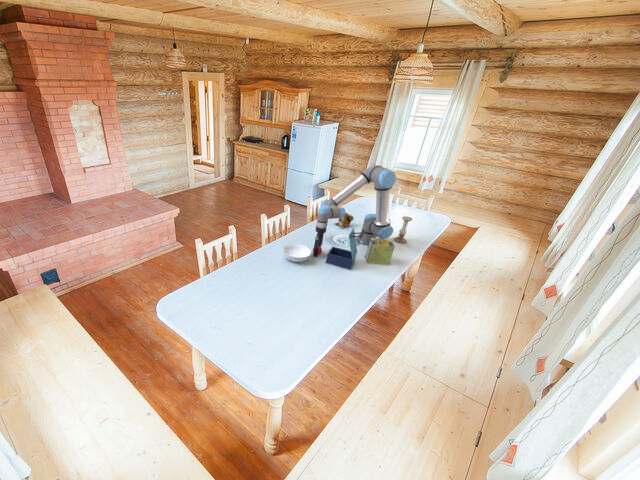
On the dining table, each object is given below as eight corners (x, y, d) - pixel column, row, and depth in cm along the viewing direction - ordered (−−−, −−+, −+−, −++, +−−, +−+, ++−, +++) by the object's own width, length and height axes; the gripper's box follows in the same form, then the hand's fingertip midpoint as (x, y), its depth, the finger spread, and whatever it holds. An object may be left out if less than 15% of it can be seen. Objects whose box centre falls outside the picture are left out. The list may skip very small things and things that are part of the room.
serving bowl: (309, 267, 224) (311, 258, 221) (280, 263, 228) (281, 255, 224) (310, 253, 242) (311, 245, 238) (282, 250, 245) (283, 242, 241)
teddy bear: (334, 224, 289) (337, 211, 282) (346, 222, 294) (349, 208, 287) (341, 228, 281) (344, 215, 274) (353, 226, 286) (357, 212, 280)
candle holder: (403, 238, 268) (410, 216, 257) (407, 243, 260) (414, 220, 250) (392, 237, 268) (399, 215, 258) (396, 242, 261) (403, 219, 250)
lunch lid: (348, 235, 212) (361, 234, 208) (352, 228, 222) (365, 227, 217) (352, 259, 219) (364, 259, 214) (356, 252, 228) (368, 251, 224)
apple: (313, 251, 244) (315, 242, 240) (322, 253, 242) (324, 244, 237) (310, 255, 239) (312, 245, 235) (319, 257, 236) (321, 248, 232)
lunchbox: (325, 262, 230) (327, 253, 226) (330, 255, 240) (332, 246, 236) (350, 269, 223) (352, 260, 219) (354, 261, 232) (356, 252, 228)
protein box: (389, 265, 230) (395, 246, 222) (367, 262, 232) (372, 243, 224) (386, 258, 238) (392, 239, 230) (365, 255, 241) (370, 237, 233)
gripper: (320, 220, 237) (315, 247, 249) (311, 230, 222) (307, 258, 234) (330, 222, 234) (325, 250, 246) (322, 232, 219) (317, 261, 231)
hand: (316, 254), depth 240 cm, fingers closed on apple, 7 cm apart
